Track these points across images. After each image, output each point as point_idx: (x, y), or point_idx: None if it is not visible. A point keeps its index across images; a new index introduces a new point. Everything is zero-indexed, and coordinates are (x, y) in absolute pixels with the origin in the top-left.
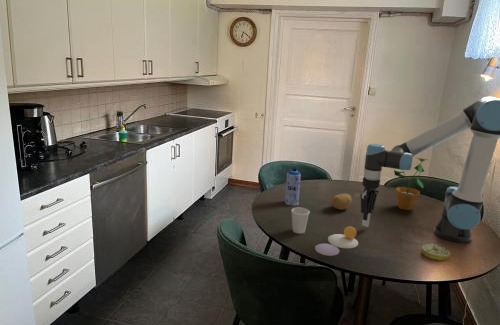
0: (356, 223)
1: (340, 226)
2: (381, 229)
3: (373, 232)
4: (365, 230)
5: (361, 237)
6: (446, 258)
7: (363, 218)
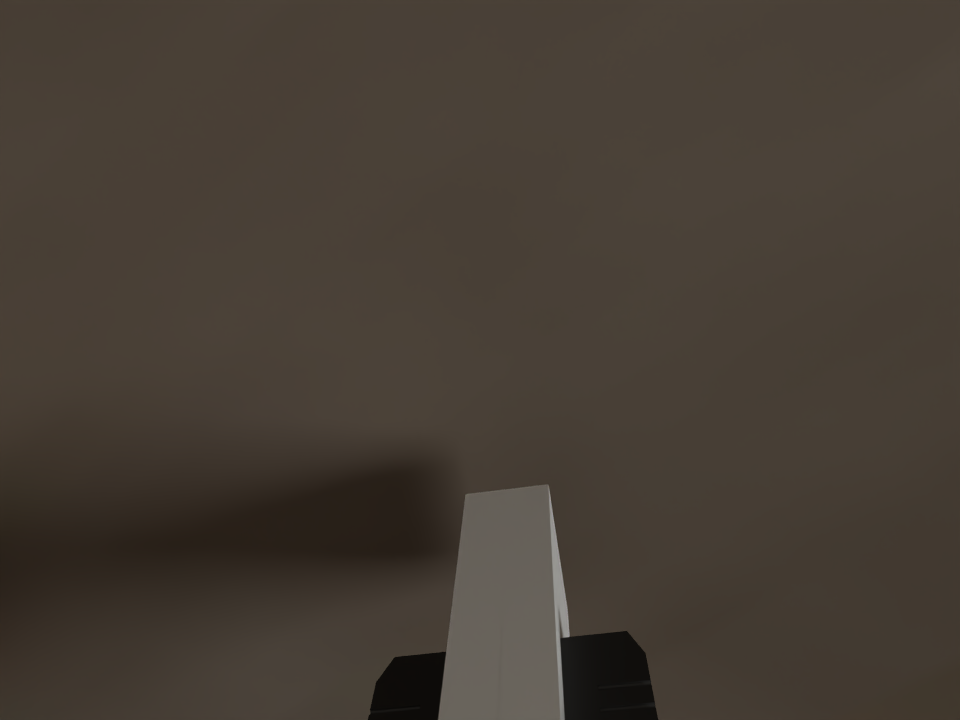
0: (634, 176)
1: (76, 80)
2: (842, 676)
3: None
4: None
5: (143, 678)
6: None
7: (376, 706)
